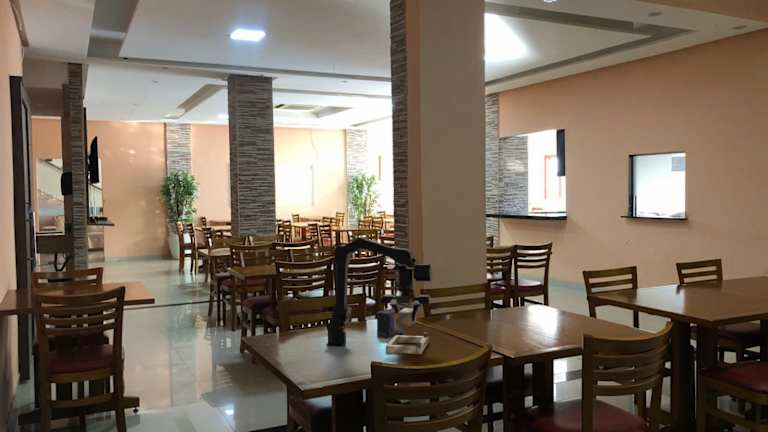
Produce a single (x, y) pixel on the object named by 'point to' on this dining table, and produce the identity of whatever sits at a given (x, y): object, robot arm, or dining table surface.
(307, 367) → the dining table surface
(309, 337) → the dining table surface
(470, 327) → the dining table surface
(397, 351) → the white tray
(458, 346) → the dining table surface
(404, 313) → the frame
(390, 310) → the small box
